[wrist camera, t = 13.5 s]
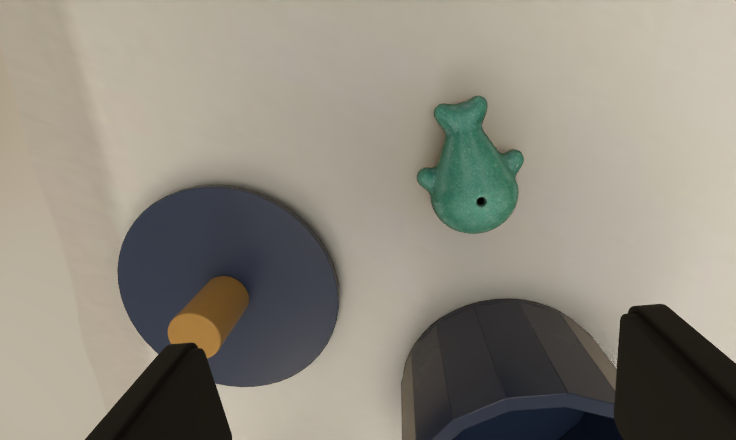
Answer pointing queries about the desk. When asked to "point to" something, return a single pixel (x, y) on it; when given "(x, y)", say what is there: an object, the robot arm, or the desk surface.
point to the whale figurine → (471, 172)
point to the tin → (508, 377)
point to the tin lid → (230, 283)
